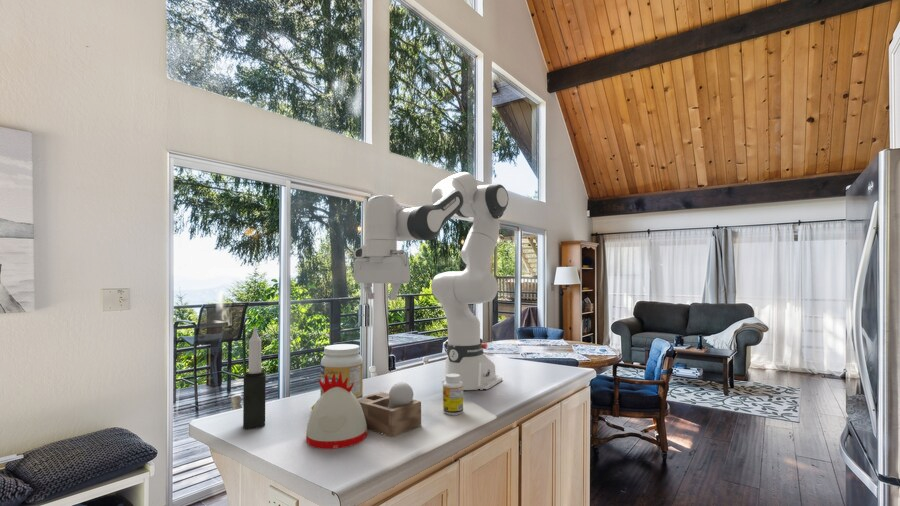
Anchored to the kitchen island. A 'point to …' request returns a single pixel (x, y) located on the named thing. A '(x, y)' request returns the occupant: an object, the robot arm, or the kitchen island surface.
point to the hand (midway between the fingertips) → (381, 299)
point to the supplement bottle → (453, 395)
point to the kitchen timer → (336, 417)
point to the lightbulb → (400, 395)
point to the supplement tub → (344, 366)
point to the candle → (254, 387)
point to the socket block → (389, 414)
